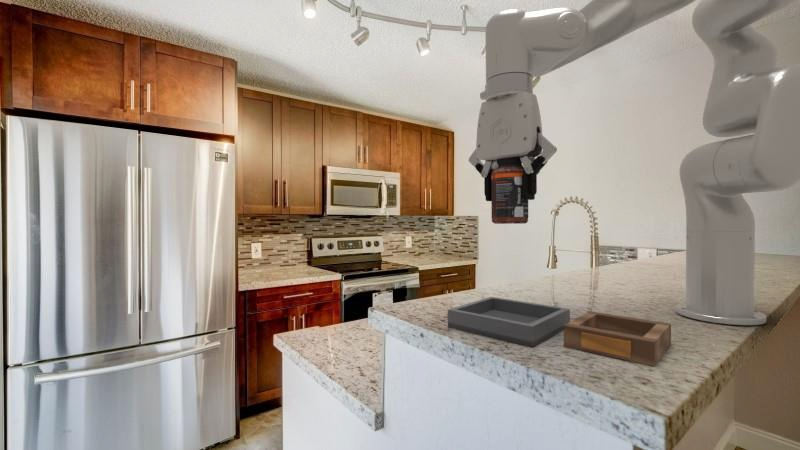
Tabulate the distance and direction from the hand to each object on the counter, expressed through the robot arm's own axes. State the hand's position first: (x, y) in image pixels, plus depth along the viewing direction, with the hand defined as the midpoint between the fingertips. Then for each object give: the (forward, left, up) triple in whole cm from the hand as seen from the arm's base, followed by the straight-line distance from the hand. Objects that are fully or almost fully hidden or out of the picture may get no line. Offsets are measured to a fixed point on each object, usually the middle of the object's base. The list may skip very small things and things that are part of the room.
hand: (509, 199), depth 64 cm
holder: (-2, +16, -22) cm, 27 cm away
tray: (0, 0, -22) cm, 22 cm away
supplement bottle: (0, 0, -4) cm, 4 cm away
